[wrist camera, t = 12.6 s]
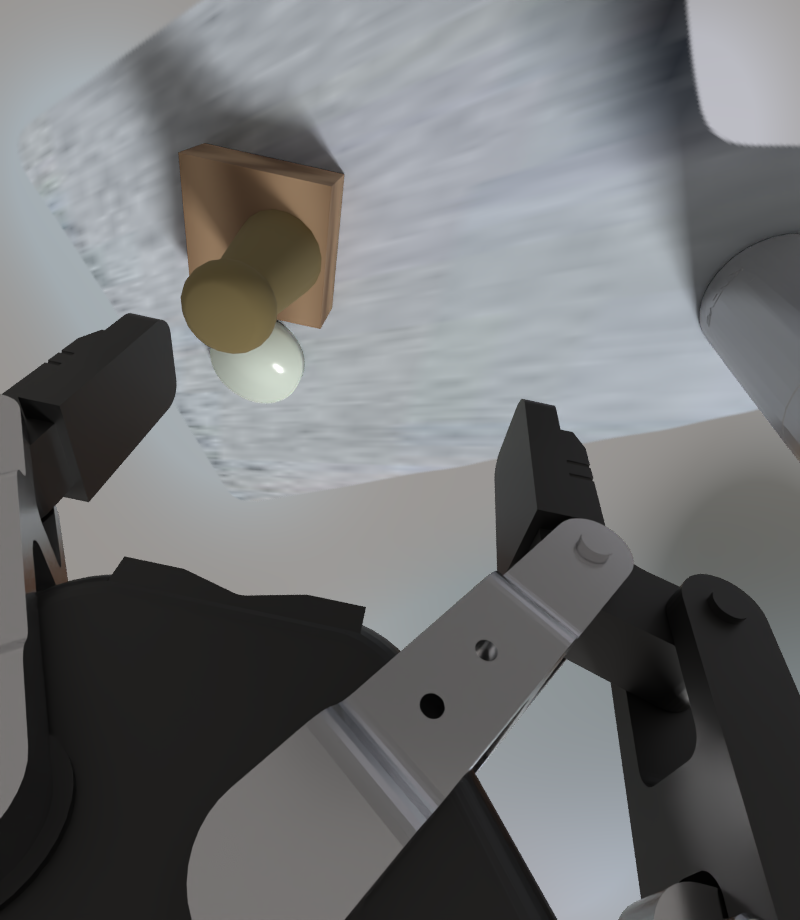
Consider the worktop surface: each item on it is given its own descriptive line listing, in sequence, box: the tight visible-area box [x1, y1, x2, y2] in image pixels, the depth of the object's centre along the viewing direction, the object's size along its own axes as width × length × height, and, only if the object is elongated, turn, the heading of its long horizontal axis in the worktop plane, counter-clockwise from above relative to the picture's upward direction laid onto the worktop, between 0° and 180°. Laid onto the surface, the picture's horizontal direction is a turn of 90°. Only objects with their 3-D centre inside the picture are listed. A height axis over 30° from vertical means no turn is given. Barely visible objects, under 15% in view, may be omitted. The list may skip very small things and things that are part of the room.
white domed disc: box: [210, 321, 305, 403], centre depth 46 cm, size 8×8×2 cm
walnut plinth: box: [178, 143, 344, 329], centre depth 38 cm, size 10×10×4 cm
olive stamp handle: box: [181, 209, 322, 354], centre depth 32 cm, size 6×6×11 cm
